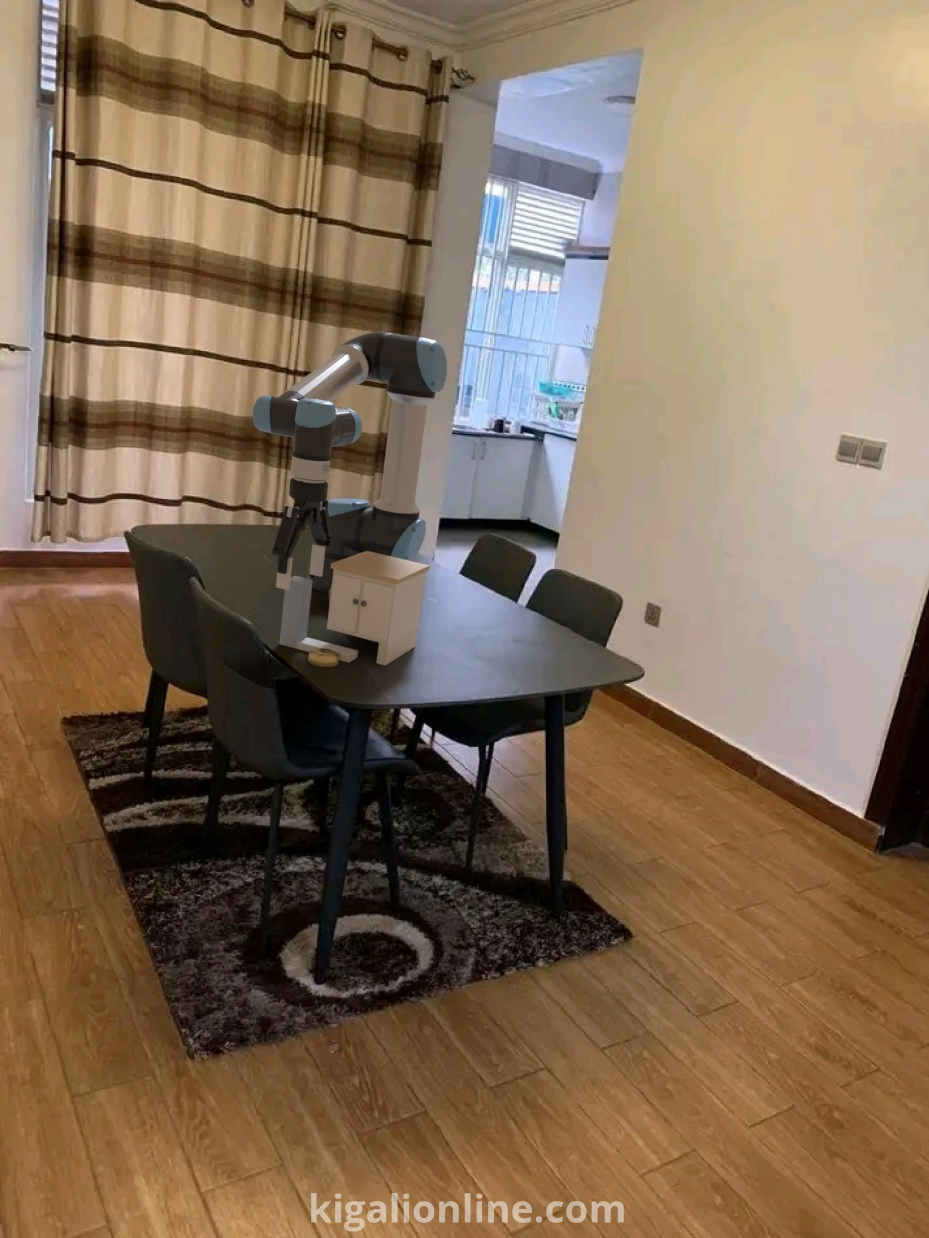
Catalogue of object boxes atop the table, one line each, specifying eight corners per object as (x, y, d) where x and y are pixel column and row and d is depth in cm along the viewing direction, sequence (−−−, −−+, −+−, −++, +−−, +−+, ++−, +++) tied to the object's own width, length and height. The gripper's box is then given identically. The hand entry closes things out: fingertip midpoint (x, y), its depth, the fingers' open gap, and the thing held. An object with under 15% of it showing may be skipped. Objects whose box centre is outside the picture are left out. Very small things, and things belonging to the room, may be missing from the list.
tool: (279, 644, 194) (285, 579, 190) (288, 639, 197) (295, 575, 193) (349, 662, 189) (357, 596, 185) (357, 657, 193) (365, 592, 189)
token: (302, 662, 186) (303, 652, 185) (317, 655, 191) (318, 646, 191) (328, 670, 184) (330, 660, 183) (343, 662, 189) (344, 653, 189)
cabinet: (318, 650, 194) (328, 564, 188) (357, 630, 210) (367, 550, 205) (384, 668, 189) (396, 580, 184) (418, 646, 206) (429, 565, 201)
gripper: (294, 489, 173) (284, 598, 179) (354, 476, 195) (343, 573, 202) (259, 482, 175) (250, 590, 181) (322, 469, 198) (313, 566, 204)
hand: (299, 581), depth 191 cm, fingers open, 13 cm apart
